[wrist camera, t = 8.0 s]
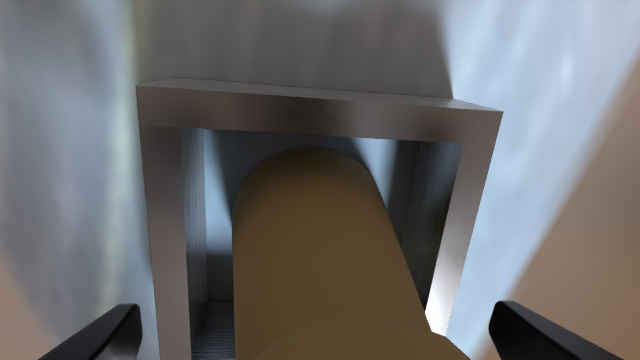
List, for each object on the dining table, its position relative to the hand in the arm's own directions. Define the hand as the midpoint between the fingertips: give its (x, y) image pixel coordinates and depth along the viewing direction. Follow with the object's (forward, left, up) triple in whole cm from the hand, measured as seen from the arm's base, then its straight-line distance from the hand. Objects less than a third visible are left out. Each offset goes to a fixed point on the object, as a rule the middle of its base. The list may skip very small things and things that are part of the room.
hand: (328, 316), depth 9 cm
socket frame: (0, 0, -6) cm, 6 cm away
